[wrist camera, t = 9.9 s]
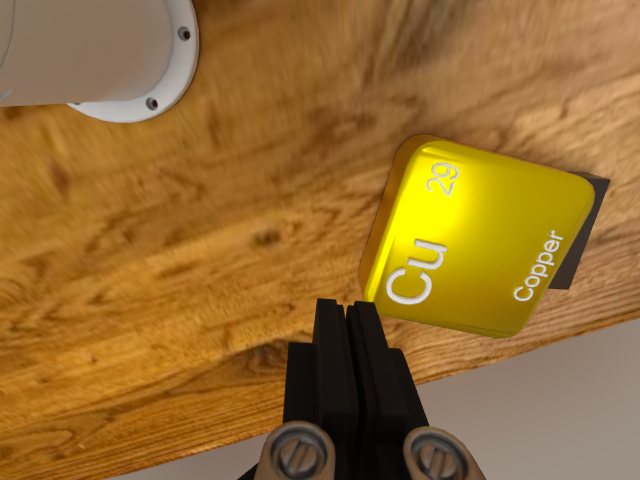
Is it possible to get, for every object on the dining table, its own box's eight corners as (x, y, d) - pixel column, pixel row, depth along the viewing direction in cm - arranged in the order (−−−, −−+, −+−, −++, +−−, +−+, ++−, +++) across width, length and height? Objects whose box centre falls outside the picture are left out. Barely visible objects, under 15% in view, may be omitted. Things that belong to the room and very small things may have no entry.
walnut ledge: (531, 275, 34) (547, 288, 32) (565, 171, 30) (586, 178, 28) (551, 276, 34) (569, 289, 32) (588, 173, 30) (611, 179, 28)
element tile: (495, 316, 36) (521, 348, 32) (352, 286, 34) (358, 315, 30) (570, 171, 30) (613, 185, 26) (403, 127, 29) (419, 134, 24)
